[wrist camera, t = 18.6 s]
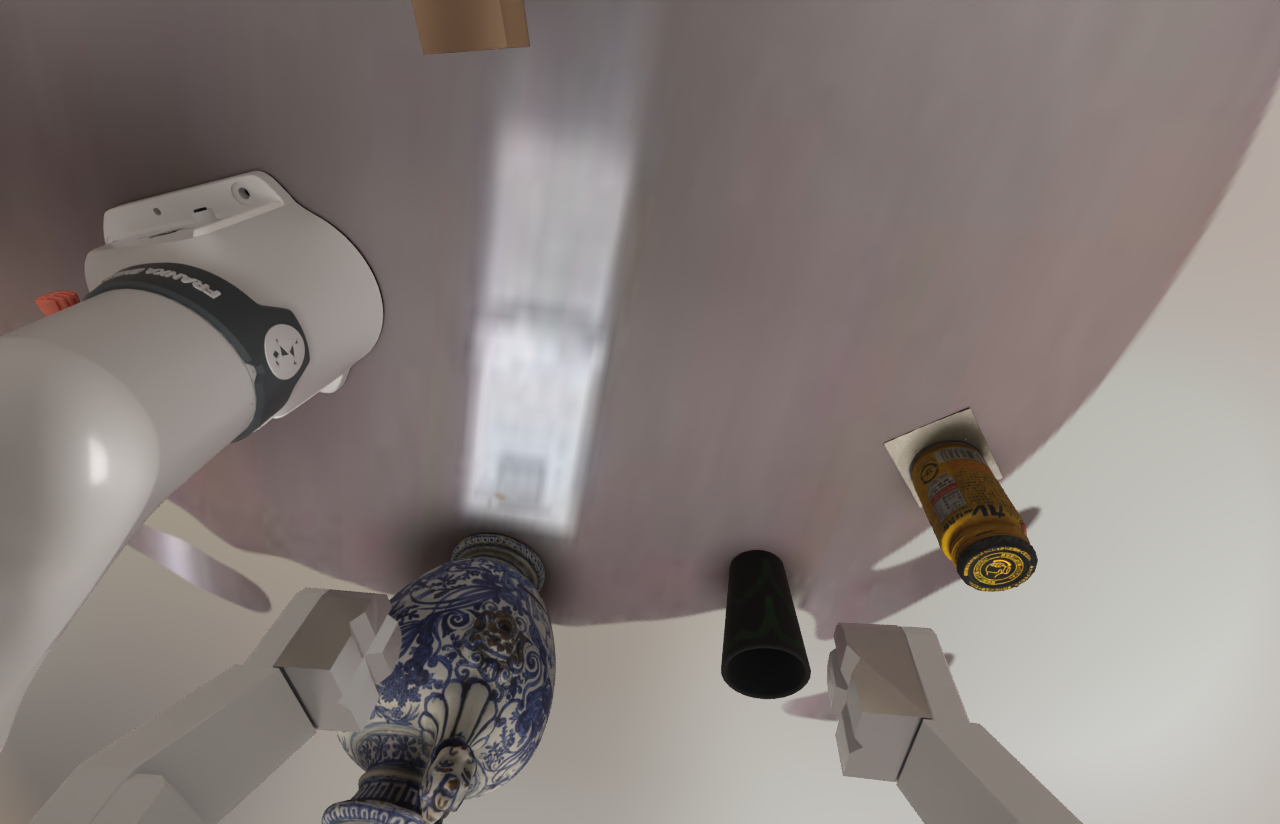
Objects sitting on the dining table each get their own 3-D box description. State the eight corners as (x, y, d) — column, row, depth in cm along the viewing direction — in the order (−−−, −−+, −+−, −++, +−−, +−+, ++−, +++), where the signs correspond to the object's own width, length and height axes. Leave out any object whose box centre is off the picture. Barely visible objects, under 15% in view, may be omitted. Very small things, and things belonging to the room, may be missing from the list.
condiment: (919, 506, 55) (966, 612, 45) (883, 442, 52) (924, 540, 42) (1001, 475, 52) (1071, 580, 42) (968, 406, 49) (1035, 502, 39)
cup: (746, 603, 64) (753, 708, 54) (705, 562, 62) (703, 664, 52) (808, 576, 61) (827, 682, 51) (767, 531, 58) (779, 634, 48)
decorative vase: (525, 650, 73) (432, 941, 49) (389, 578, 69) (215, 859, 45) (622, 556, 62) (564, 867, 39) (468, 465, 58) (298, 752, 35)
